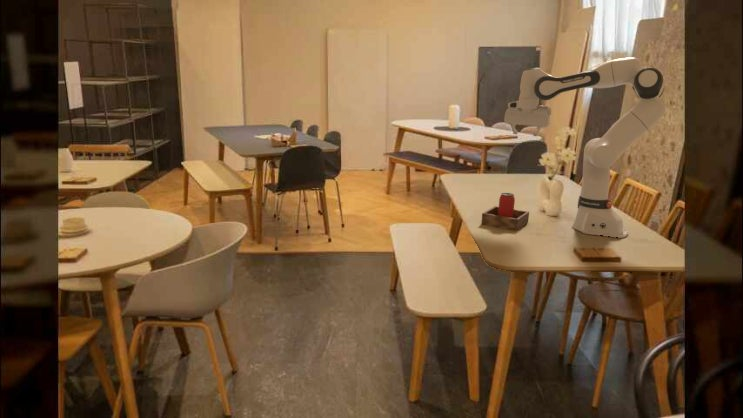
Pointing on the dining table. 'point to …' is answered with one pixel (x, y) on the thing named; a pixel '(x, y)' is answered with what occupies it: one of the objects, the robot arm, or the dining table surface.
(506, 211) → the beer can
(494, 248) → the dining table surface
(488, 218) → the walnut box
